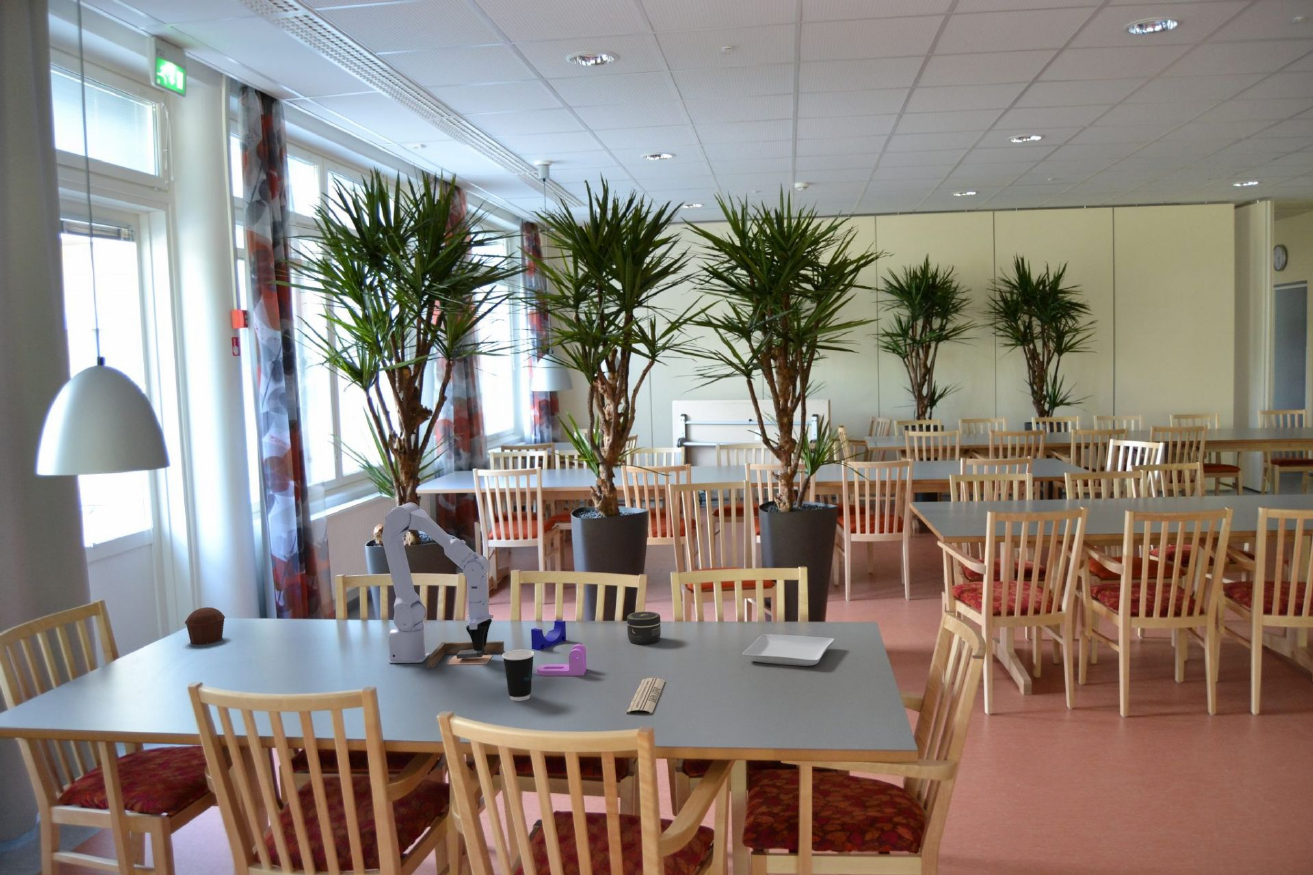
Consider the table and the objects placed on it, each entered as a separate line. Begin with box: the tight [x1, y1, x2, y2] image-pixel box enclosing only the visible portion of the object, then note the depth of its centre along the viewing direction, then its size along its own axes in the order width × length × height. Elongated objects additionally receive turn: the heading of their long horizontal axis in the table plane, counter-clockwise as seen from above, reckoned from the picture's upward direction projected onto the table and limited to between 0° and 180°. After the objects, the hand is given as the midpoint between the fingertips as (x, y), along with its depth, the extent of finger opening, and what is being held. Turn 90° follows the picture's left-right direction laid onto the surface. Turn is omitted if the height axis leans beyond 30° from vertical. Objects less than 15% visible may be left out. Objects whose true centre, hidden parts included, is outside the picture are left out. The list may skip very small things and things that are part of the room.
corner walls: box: [427, 640, 505, 669], centre depth 274 cm, size 18×15×3 cm
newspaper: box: [626, 677, 666, 715], centre depth 238 cm, size 24×7×2 cm, turn 172°
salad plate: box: [741, 633, 835, 667], centre depth 268 cm, size 21×21×3 cm
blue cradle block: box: [530, 619, 567, 651], centre depth 287 cm, size 12×4×6 cm, turn 146°
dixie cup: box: [501, 649, 535, 702], centre depth 240 cm, size 8×8×11 cm
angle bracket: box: [456, 642, 486, 659], centre depth 273 cm, size 7×4×6 cm, turn 87°
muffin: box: [184, 607, 226, 645], centre depth 303 cm, size 12×11×10 cm
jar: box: [626, 611, 662, 646], centre depth 288 cm, size 10×10×8 cm
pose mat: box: [446, 654, 493, 666], centre depth 274 cm, size 11×8×1 cm
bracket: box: [536, 643, 588, 677], centre depth 260 cm, size 13×6×7 cm, turn 85°
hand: (480, 648), depth 273 cm, fingers closed on angle bracket, 4 cm apart
